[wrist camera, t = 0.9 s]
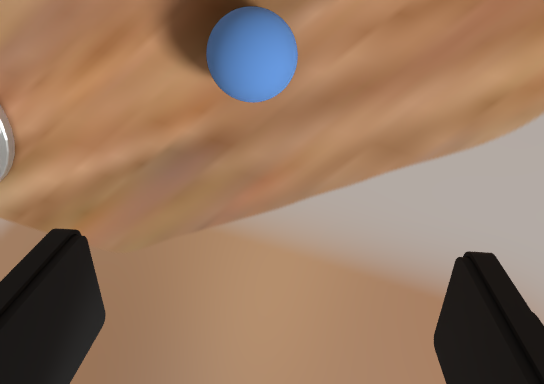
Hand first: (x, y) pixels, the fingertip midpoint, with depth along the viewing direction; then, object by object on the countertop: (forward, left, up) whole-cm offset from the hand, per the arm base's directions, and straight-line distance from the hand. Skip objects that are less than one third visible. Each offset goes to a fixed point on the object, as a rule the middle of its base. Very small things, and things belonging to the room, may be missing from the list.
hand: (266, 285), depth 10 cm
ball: (-2, +3, -20) cm, 20 cm away
